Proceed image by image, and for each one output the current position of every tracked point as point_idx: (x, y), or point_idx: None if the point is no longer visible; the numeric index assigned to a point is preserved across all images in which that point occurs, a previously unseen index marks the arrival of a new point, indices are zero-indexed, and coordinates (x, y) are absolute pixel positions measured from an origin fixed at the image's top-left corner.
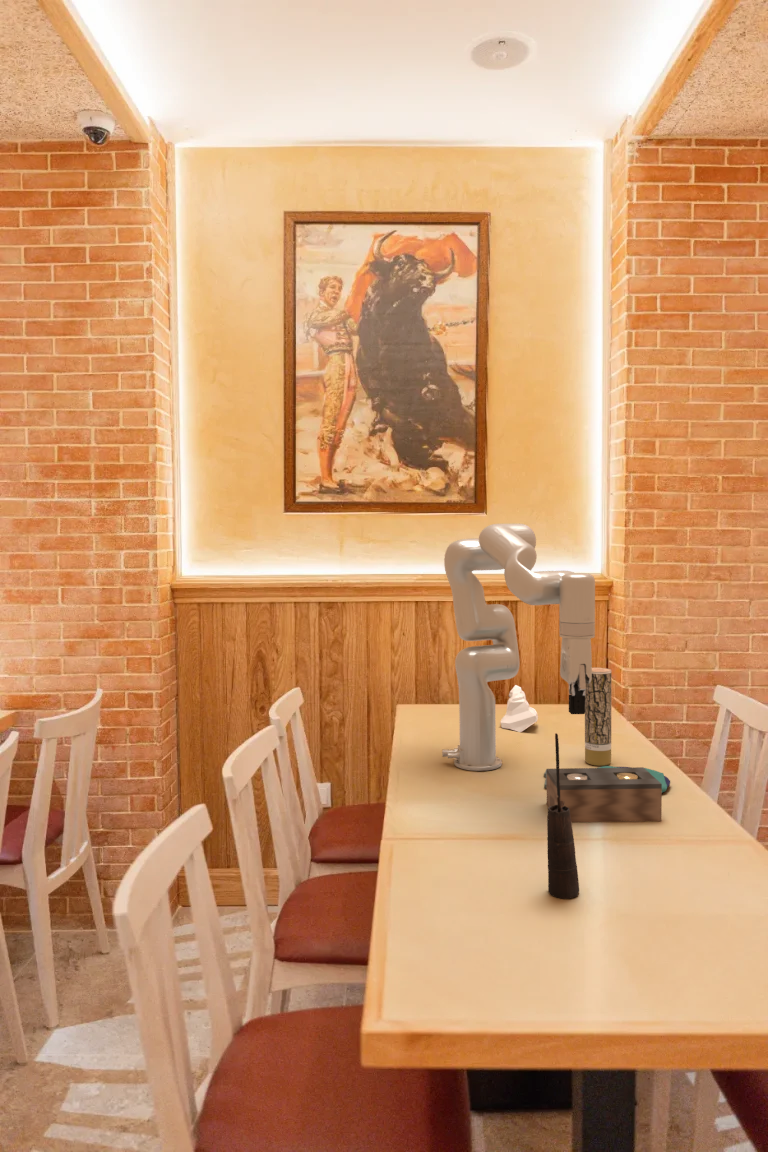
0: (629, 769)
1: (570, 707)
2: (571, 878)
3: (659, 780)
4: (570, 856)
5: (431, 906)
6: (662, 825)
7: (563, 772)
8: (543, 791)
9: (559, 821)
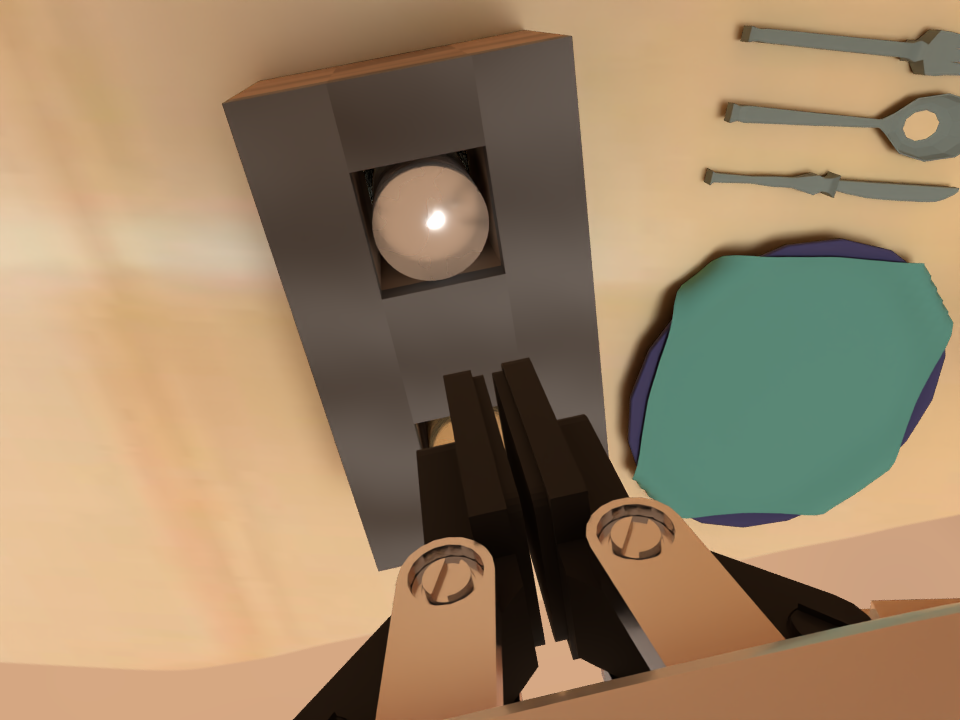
0: None
1: (450, 413)
2: None
3: (769, 494)
4: None
5: None
6: (333, 472)
7: (499, 148)
8: (706, 19)
9: None
